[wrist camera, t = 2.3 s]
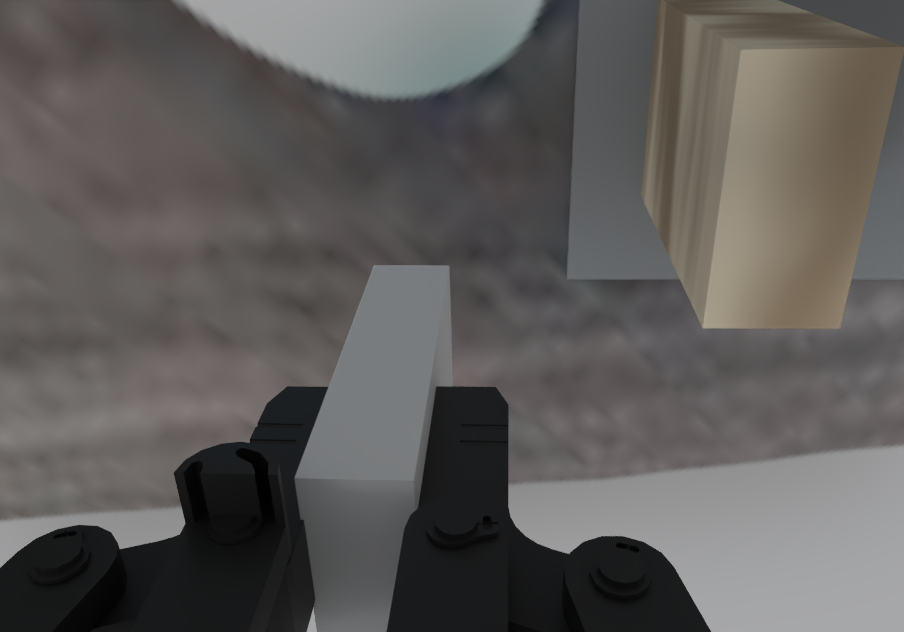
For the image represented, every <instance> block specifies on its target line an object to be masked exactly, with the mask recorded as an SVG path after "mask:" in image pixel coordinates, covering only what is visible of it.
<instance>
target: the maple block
mask: <svg viewBox="0 0 904 632" xmlns="http://www.w3.org/2000/svg"><path fill="white" fill-rule="evenodd" d="M903 53H904V46H901V45H898V44H896V43H893V42H890V41H888V40H885V39H882V38H879V37H877V36H874V35H871V34H868V33H866V32H863V31H860V30H858V29H855V28H852V27H849V26H847V25H844V24H841V23H839V22H836V21H833V20H830V19H828V18H825V17H822V16H820V15H817V14H814V13H811V12H809V11H806V10H803V9H800V8H798V7H795V6H792V5H790V4H787V3H784V2H781V1H779V0H658V7H657V18H656V29H655V41H654V52H653V63H652V75H651V86H650V97H649V109H648V120H647V131H646V142H645V154H644V165H643V176H642V188H641V197H642V199H643V201H644V204H645V206H646V208H647V210H648V212H649V214H650V216H651V219H652V221H653V223H654V225H655V227H656V229H657V231H658V234H659V236H660V238H661V240H662V242H663V244H664V246H665V249H666V251H667V253H668V255H669V257H670V259H671V262H672V264H673V266H674V268H675V270H676V272H677V274H678V277H679V279H680V281H681V283H682V285H683V287H684V289H685V292H686V294H687V296H688V298H689V300H690V302H691V304H692V307H693V309H694V311H695V313H696V315H697V317H698V319H699V322H700V324H701V326H702V328H753V329H840V327H841V323H842V319H843V314H844V310H845V306H846V301H847V297H848V293H849V288H850V284H851V280H852V275H853V271H854V267H855V262H856V258H857V253H858V249H859V245H860V240H861V236H862V232H863V227H864V223H865V219H866V214H867V210H868V206H869V201H870V197H871V192H872V188H873V184H874V179H875V175H876V171H877V166H878V162H879V158H880V153H881V149H882V145H883V140H884V136H885V131H886V127H887V123H888V118H889V114H890V110H891V105H892V101H893V97H894V92H895V88H896V84H897V79H898V75H899V71H900V66H901V62H902V57H903Z"/></svg>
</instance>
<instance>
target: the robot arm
mask: <svg viewBox="0 0 904 632" xmlns="http://www.w3.org/2000/svg"><path fill="white" fill-rule="evenodd" d="M452 385H453V374H452V340H451V307H450V273H449V266H433V265H374V266H373V269H372V272H371V274H370V277H369V280H368V283H367V285H366V288H365V291H364V293H363V296H362V299H361V301H360V304H359V307H358V309H357V312H356V315H355V317H354V320H353V323H352V325H351V328H350V331H349V333H348V336H347V339H346V341H345V344H344V347H343V349H342V352H341V355H340V358H339V360H338V363H337V366H336V368H335V371H334V374H333V376H332V379H331V382H330V384H329V387H286V388H285V389H284V390H283V391H282V392H280V393H279V394H278V395H277V396H276V397H274V398H273V399H272V400H271V401H270V402H268V403H267V405H266V407H265V409H264V411H263V413H262V415H261V417H260V419H259V421H258V427H256V428H255V430H254V432H253V434H252V436H251V438H250V443H246V442H235V443H225V444H219V445H216V446H213V447H210V448H207V449H204V450H201V451H200V452H198V453H196V454H195V455H193V456H191V457H190V458H188V459H186V460H185V461H184V462H183V463H182V464H181V465H180V466H179V468H178V469H177V470H176V471H175V472H174V476H175V480H176V484H177V489H178V493H179V497H180V501H181V506H182V510H183V514H184V518H185V523H186V524H185V526H184V528H183V530H182V532H181V533H180V535H177V536H175V537H172V538H168V539H165V540H162V541H158V542H154V543H148V544H143V545H139V546H134V547H129V548H125V549H119V546H118V543H117V541H116V540H115V538H114V536H113V535H112V533H111V532H109V531H107V530H105V529H103V528H100V527H98V526H86V525H77V526H72V527H67V528H62V529H57V530H55V531H53V532H50V533H48V534H46V535H43V536H41V537H39V538H36V539H35V540H33V541H32V542H31V543H29V544H28V545H27V546H25V547H24V548H22V549H21V550H20V551H18V552H17V553H16V554H15V555H14V556H13V557H12V558H11V559H9V560H8V561H7V562H6V563H5V564H4V565H3V566H2V567H1V568H0V632H306V631H307V628H308V624H309V621H310V617H311V613H312V610H313V607H314V614H315V621H316V627H317V632H711V631H710V629H709V627H708V626H707V624H706V622H705V620H704V619H703V617H702V615H701V613H700V612H699V610H698V608H697V607H696V605H695V603H694V601H693V600H692V598H691V596H690V594H689V593H688V591H687V589H686V587H685V586H684V584H683V582H682V580H681V579H680V577H679V575H678V573H677V572H676V570H675V568H674V567H673V566H672V564H671V563H670V562H669V561H668V560H667V559H666V557H665V556H664V555H663V554H662V553H661V552H659V551H657V550H656V549H654V548H653V547H651V546H649V545H648V544H646V543H644V542H642V541H637V540H634V539H630V538H627V537H623V536H613V537H612V536H611V537H610V536H605V537H604V536H601V537H598V538H595V539H592V540H588V541H585V542H583V543H582V544H580V545H579V546H578V547H577V548H576V549H574V550H573V551H572V552H571V553H570V554H566V553H562V552H559V551H556V550H552V549H550V548H547V547H544V546H541V545H539V544H537V543H535V542H534V541H532V540H531V539H529V538H527V537H526V536H525V535H524V534H523V533H522V532H520V530H518V528H516V526H515V525H514V523H513V521H512V519H511V517H510V513H509V508H508V404H507V402H506V401H505V399H504V398H503V397H502V395H501V394H500V392H499V391H498V389H497V388H496V387H452Z"/></svg>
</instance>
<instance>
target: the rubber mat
mask: <svg viewBox="0 0 904 632" xmlns="http://www.w3.org/2000/svg"><path fill="white" fill-rule="evenodd" d="M779 1H781V2H784V3H787V4H790V5H792V6H795V7H798V8H800V9H803V10H806V11H809V12H811V13H814V14H817V15H820V16H822V17H825V18H828V19H830V20H833V21H836V22H839V23H841V24H844V25H847V26H849V27H852V28H855V29H858V30H860V31H863V32H866V33H868V34H871V35H874V36H877V37H879V38H882V39H885V40H888V41H890V42H893V43H896V44H898V45H901V46H904V0H779ZM657 7H658V0H579V6H578V28H577V51H576V73H575V95H574V117H573V139H572V161H571V183H570V206H569V228H568V250H567V272H566V276H567V279H679V277H678V274H677V272H676V270H675V268H674V266H673V264H672V262H671V259H670V257H669V255H668V253H667V251H666V249H665V246H664V244H663V242H662V240H661V238H660V236H659V234H658V231H657V229H656V227H655V225H654V223H653V221H652V219H651V216H650V214H649V212H648V210H647V208H646V206H645V204H644V201H643V199H642V197H641V188H642V176H643V165H644V154H645V142H646V131H647V120H648V109H649V97H650V86H651V75H652V63H653V52H654V41H655V29H656V18H657ZM852 279H904V53H903V57H902V62H901V66H900V71H899V75H898V79H897V84H896V88H895V92H894V97H893V101H892V105H891V110H890V114H889V118H888V123H887V127H886V131H885V136H884V140H883V145H882V149H881V153H880V158H879V162H878V166H877V171H876V175H875V179H874V184H873V188H872V192H871V197H870V201H869V206H868V210H867V214H866V219H865V223H864V227H863V232H862V236H861V240H860V245H859V249H858V253H857V258H856V262H855V267H854V271H853V275H852Z"/></svg>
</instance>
